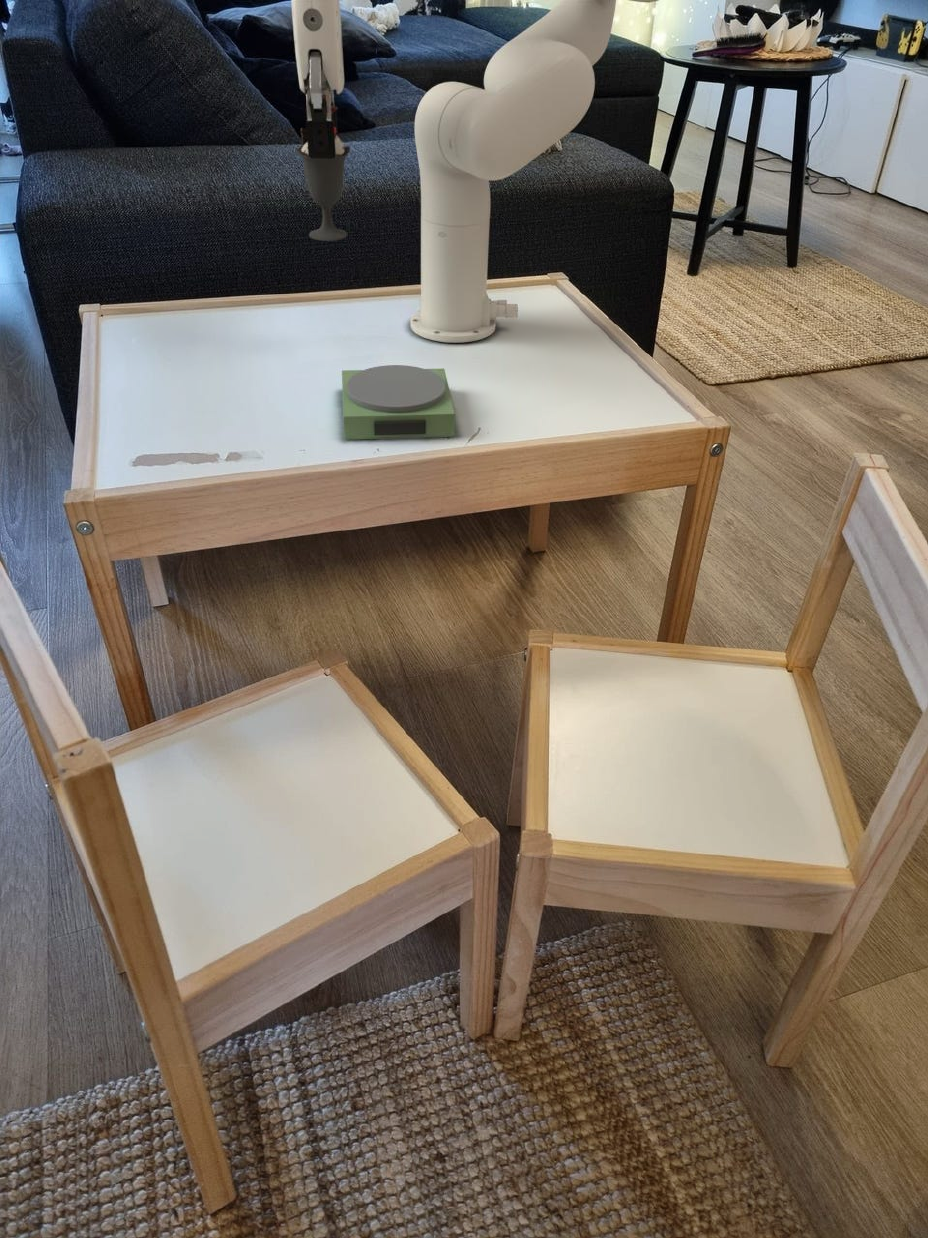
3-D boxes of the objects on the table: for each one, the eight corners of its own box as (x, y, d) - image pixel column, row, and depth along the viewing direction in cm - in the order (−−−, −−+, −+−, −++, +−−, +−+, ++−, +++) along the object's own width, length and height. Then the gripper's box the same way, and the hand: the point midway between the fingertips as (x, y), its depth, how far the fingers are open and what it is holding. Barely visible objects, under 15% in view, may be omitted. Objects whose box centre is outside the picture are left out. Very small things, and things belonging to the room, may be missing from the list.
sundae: (358, 241, 117) (352, 108, 108) (305, 244, 116) (294, 109, 106) (350, 226, 122) (344, 98, 113) (299, 228, 121) (289, 99, 111)
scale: (443, 390, 119) (444, 362, 117) (455, 438, 109) (456, 409, 106) (343, 392, 118) (341, 364, 115) (344, 441, 107) (343, 411, 105)
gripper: (344, -20, 95) (353, 168, 106) (348, -32, 108) (356, 136, 120) (270, -22, 94) (287, 167, 106) (284, -34, 108) (297, 135, 119)
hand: (323, 149), depth 112 cm, fingers closed on sundae, 6 cm apart
